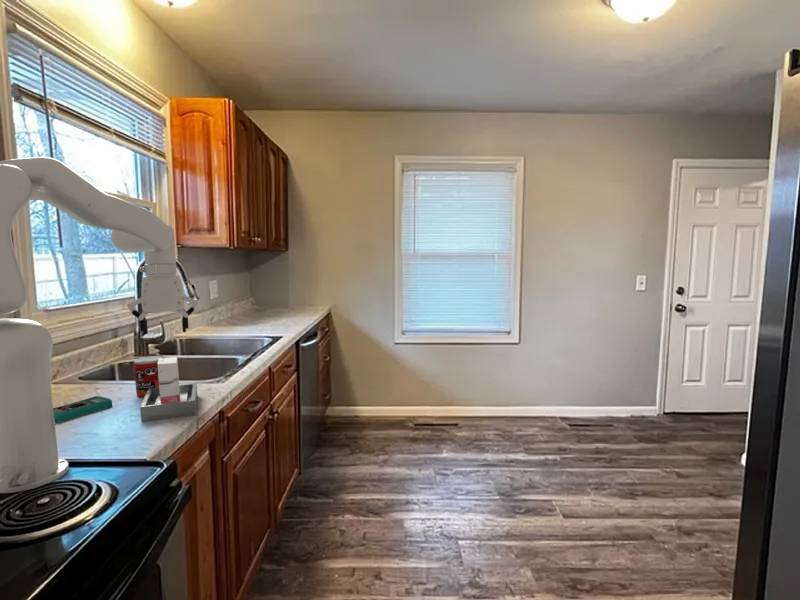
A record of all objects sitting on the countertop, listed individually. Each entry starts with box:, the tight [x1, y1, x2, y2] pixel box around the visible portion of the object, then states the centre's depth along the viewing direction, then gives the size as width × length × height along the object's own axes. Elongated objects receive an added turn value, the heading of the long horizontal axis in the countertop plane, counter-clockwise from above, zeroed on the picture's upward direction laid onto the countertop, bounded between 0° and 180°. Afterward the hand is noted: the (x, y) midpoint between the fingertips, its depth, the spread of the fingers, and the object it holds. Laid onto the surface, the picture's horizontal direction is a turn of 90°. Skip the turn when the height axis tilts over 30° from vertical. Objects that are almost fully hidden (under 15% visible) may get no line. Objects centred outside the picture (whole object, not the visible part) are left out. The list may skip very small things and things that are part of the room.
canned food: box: [133, 355, 163, 398], centre depth 146 cm, size 8×8×11 cm
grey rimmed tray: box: [139, 382, 198, 423], centre depth 133 cm, size 18×13×4 cm
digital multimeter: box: [53, 395, 113, 423], centre depth 131 cm, size 7×15×3 cm, turn 152°
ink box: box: [157, 356, 180, 404], centre depth 132 cm, size 9×5×12 cm, turn 24°
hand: (165, 332), depth 130 cm, fingers open, 9 cm apart
